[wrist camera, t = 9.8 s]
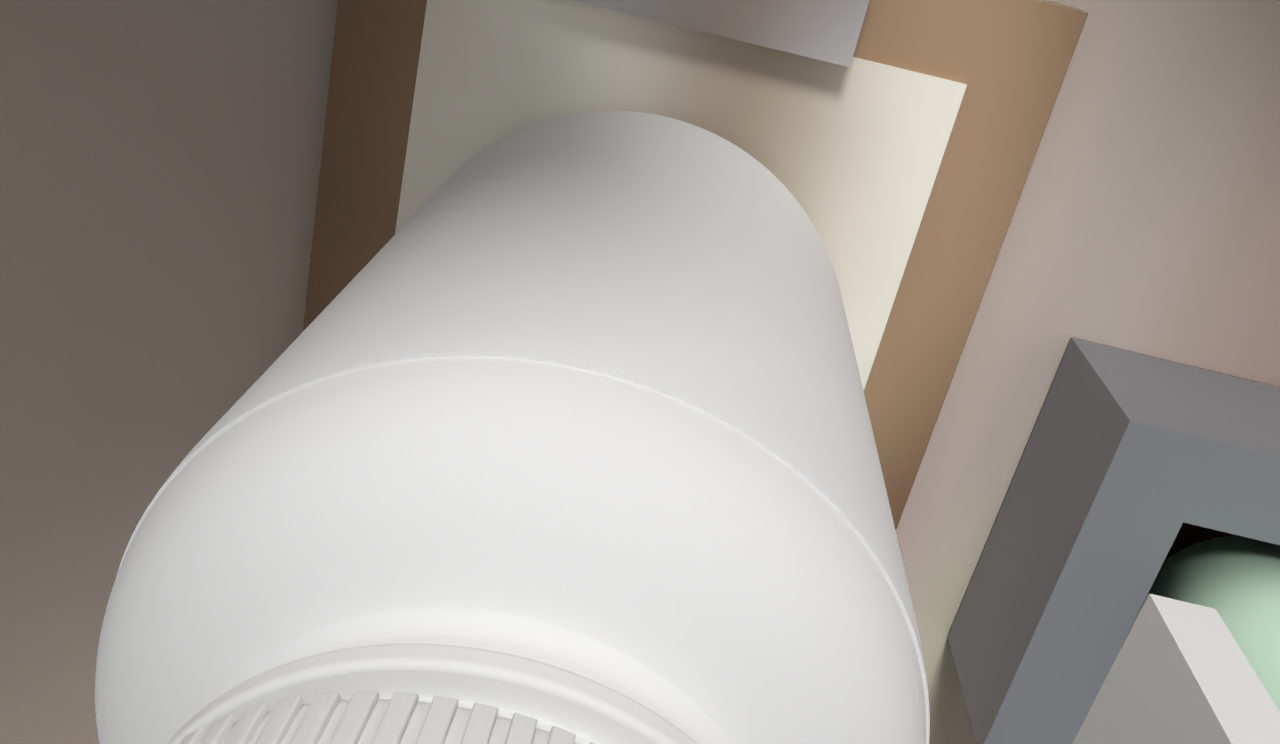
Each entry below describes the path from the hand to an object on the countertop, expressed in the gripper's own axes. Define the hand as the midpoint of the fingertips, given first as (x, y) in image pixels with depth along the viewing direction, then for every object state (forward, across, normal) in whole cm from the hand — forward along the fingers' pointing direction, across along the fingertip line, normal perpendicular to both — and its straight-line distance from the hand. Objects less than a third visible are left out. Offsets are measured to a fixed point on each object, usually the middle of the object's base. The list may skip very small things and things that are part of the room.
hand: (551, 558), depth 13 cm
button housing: (+9, +12, -3) cm, 15 cm away
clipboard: (+9, 0, -1) cm, 9 cm away
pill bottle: (+9, 0, -1) cm, 9 cm away
